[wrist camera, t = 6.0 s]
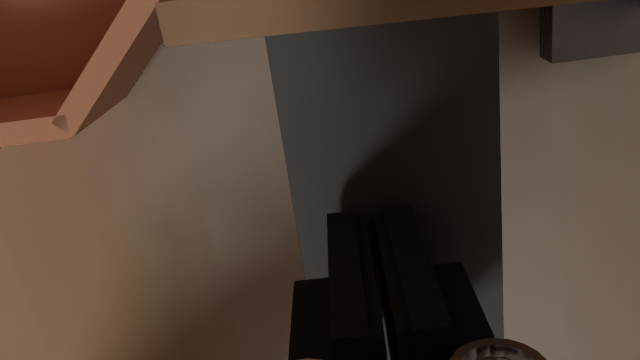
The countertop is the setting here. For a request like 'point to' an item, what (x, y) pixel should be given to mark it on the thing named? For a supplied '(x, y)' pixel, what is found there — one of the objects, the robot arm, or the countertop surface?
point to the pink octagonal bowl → (69, 63)
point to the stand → (589, 30)
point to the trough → (382, 117)
